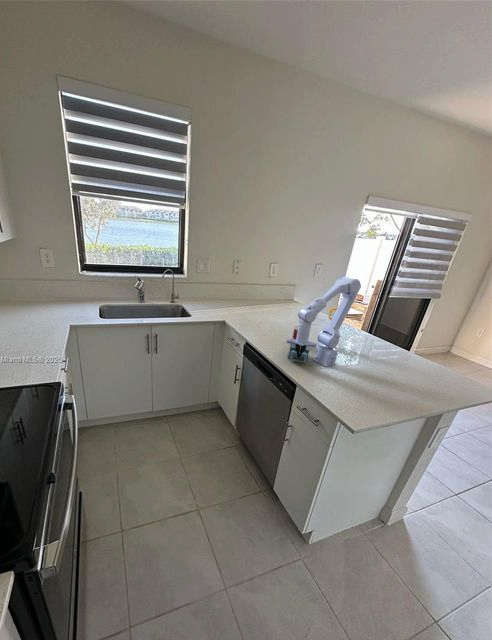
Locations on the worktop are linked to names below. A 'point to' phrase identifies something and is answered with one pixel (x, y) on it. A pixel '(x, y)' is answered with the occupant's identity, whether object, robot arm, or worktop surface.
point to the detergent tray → (294, 357)
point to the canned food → (295, 332)
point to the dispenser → (295, 349)
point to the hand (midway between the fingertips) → (298, 358)
